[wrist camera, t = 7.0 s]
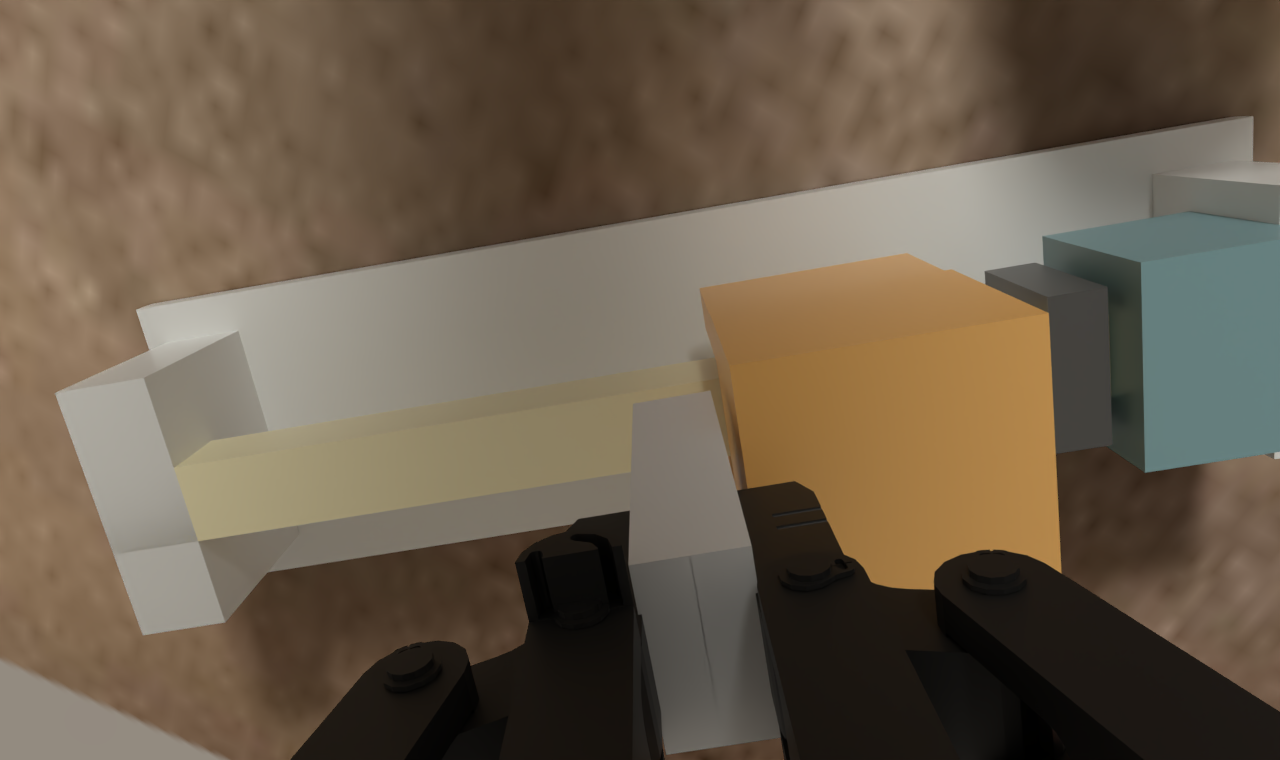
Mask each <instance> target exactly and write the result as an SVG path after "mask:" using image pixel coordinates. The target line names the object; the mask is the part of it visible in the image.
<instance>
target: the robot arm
mask: <svg viewBox="0 0 1280 760" xmlns="http://www.w3.org/2000/svg"><path fill="white" fill-rule="evenodd" d="M515 564H516V568H517V573H518V577H519V581H520V585H521V589H522V594H523V598H524V602H525V606H526V611H527V615H528V619H529V625H528V630H527V634H526V639H525V643H524V644H523V645H521V646H519V647H517V648H516V649H514V650H512V651H510V652H508V653H505V654H503V655H500V656H498V657H495V658H493V659H490V660H487V661H484V662H481V663H478V664H475V665H472V666H470V662H469V658H468V655H467V653H466V650H465V649H464V648H463V647H461V646H459V645H458V644H456V643H453V642H444V641H432V642H425V643H423V642H419V643H415V644H411V645H410V646H409V647H407V646H405V647H402V648H400V649H397V650H395V651H394V652H393V653H392V654H390V655H388V656H386V657H384V658H383V659H381V660H379V661H378V662H376V663H375V664H374V665H373V666H372V667H371V668H370V669H368V670H367V671H366V672H365V673H364V674H363V675H362V676H361V678H360V679H359V680H358V681H357V682H356V683H355V685H354V686H353V687H352V688H351V689H350V690H349V692H348V693H347V694H346V695H345V696H344V697H343V699H342V700H341V701H340V702H339V703H338V704H337V706H336V707H335V708H334V709H333V710H332V712H331V713H330V714H329V715H328V716H327V717H326V719H325V720H324V721H323V722H322V723H321V724H320V726H319V727H318V728H317V729H316V730H315V731H314V733H313V734H312V735H311V736H310V737H309V738H308V740H307V741H306V742H305V743H304V744H303V745H302V747H301V748H300V749H299V750H298V751H297V753H296V754H295V755H294V756H293V757H292V758H291V760H665V758H664V753H663V748H662V736H663V741H664V746H665V751H666V755H669V754H675V753H682V752H689V751H695V750H702V749H709V748H715V747H722V746H729V745H735V744H742V743H749V742H755V741H762V740H769V739H775V738H781V741H782V748H783V754H784V760H1280V712H1279V711H1278V710H1276V709H1275V708H1273V707H1271V706H1270V705H1268V704H1267V703H1265V702H1263V701H1262V700H1260V699H1259V698H1257V697H1256V696H1254V695H1252V694H1251V693H1249V692H1248V691H1246V690H1245V689H1243V688H1241V687H1240V686H1238V685H1237V684H1235V683H1233V682H1232V681H1230V680H1229V679H1227V678H1226V677H1224V676H1222V675H1221V674H1219V673H1218V672H1216V671H1215V670H1213V669H1211V668H1210V667H1208V666H1207V665H1205V664H1203V663H1202V662H1200V661H1199V660H1197V659H1196V658H1194V657H1192V656H1191V655H1189V654H1188V653H1186V652H1185V651H1183V650H1181V649H1180V648H1178V647H1177V646H1175V645H1173V644H1172V643H1170V642H1169V641H1167V640H1166V639H1164V638H1162V637H1161V636H1159V635H1158V634H1156V633H1155V632H1153V631H1151V630H1150V629H1148V628H1147V627H1145V626H1143V625H1142V624H1140V623H1139V622H1137V621H1136V620H1134V619H1132V618H1131V617H1129V616H1128V615H1126V614H1125V613H1123V612H1121V611H1120V610H1118V609H1117V608H1115V607H1113V606H1112V605H1110V604H1109V603H1107V602H1106V601H1104V600H1102V599H1101V598H1099V597H1098V596H1096V595H1095V594H1093V593H1091V592H1090V591H1088V590H1087V589H1085V588H1083V587H1082V586H1080V585H1079V584H1077V583H1076V582H1074V581H1072V580H1071V579H1069V578H1068V577H1066V576H1065V575H1063V574H1061V573H1060V572H1058V571H1057V570H1055V569H1053V568H1052V567H1050V566H1049V565H1047V564H1046V563H1044V562H1041V561H1039V560H1037V559H1035V558H1032V557H1030V556H1028V555H1023V554H1018V553H1013V552H1008V551H1006V550H993V551H990V550H979V551H976V552H973V553H967V554H961V555H959V556H957V557H954V558H952V559H950V560H947V561H945V562H944V563H943V564H942V565H941V566H940V567H939V568H938V569H937V570H936V571H935V574H934V590H929V589H903V588H892V587H887V586H883V585H878V584H875V583H873V582H871V581H870V579H869V577H868V575H867V573H866V571H865V569H864V568H863V567H862V566H861V565H860V563H859V562H858V561H857V560H856V559H854V558H851V557H849V556H846V555H844V554H843V552H842V550H841V547H840V545H839V543H838V541H837V539H836V537H835V535H834V533H833V531H832V529H831V526H830V524H829V522H828V521H827V518H826V516H825V514H824V512H823V510H822V509H821V505H820V503H819V501H818V499H817V497H816V495H815V493H814V491H812V490H810V489H808V488H806V487H805V486H803V485H801V484H799V483H798V482H796V481H792V482H786V483H780V484H774V485H767V486H761V487H755V488H749V489H743V490H737V489H736V485H735V481H734V478H733V474H732V470H731V466H730V463H729V459H728V455H727V451H726V448H725V444H724V440H723V436H722V432H721V429H720V425H719V421H718V417H717V414H716V410H715V406H714V402H713V399H712V395H711V391H705V392H699V393H693V394H687V395H681V396H675V397H669V398H664V399H658V400H652V401H646V402H640V403H634V404H633V419H632V454H631V490H630V511H624V512H618V513H611V514H605V515H599V516H593V517H587V518H581V519H578V520H577V521H576V522H575V523H574V524H573V525H572V526H571V527H570V528H569V529H568V530H567V531H566V532H564V533H560V534H556V535H552V536H550V537H548V538H545V539H543V540H541V541H539V542H536V543H534V544H533V545H532V546H530V547H529V548H527V549H526V550H525V551H523V552H522V553H521V555H520V556H519V558H518V559H517V561H516V562H515Z"/></svg>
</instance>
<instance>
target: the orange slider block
mask: <svg viewBox="0 0 1280 760" xmlns="http://www.w3.org/2000/svg"><path fill="white" fill-rule="evenodd" d="M699 289H700V295H701V302H702V308H703V315H704V321H705V328H706V331H707V334H708V337H709V340H710V343H711V346H712V349H713V352H714V356H715V359H716V362H717V369H718V375H719V382H720V388H721V395H722V402H723V408H724V415H725V421H726V428H727V434H728V441H729V447H730V454H731V456H728V459H729V463H730V466H731V470H732V474H733V478H734V481H735V485H736V489H737V490H743V489H749V488H755V487H761V486H767V485H774V484H780V483H786V482H792V481H796V482H798V483H799V484H801V485H803V486H805V487H806V488H808V489H810V490H812V491H814V493H815V495H816V497H817V499H818V501H819V503H820V505H821V509H822V510H823V512H824V514H825V516H826V518H827V521H828V522H829V524H830V526H831V529H832V531H833V533H834V535H835V537H836V539H837V541H838V543H839V545H840V547H841V550H842V552H843V554H844V555H846V556H849V557H851V558H854V559H856V560H857V561H858V562H859V563H860V565H861V566H862V567H863V568H864V569H865V571H866V573H867V575H868V577H869V579H870V581H871V582H873V583H875V584H878V585H883V586H887V587H892V588H903V589H929V590H934V574H935V571H936V570H937V569H938V568H939V567H940V566H941V565H942V564H943V563H944V562H945V561H947V560H950V559H952V558H954V557H957V556H959V555H961V554H967V553H973V552H976V551H979V550H990V551H993V550H1006V551H1008V552H1013V553H1018V554H1023V555H1028V556H1030V557H1032V558H1035V559H1037V560H1039V561H1041V562H1044V563H1046V564H1047V565H1049V566H1050V567H1052V568H1053V569H1055V570H1057V571H1058V572H1060V573H1061V552H1060V532H1059V511H1058V490H1057V470H1056V449H1055V429H1054V408H1053V388H1052V367H1051V347H1050V326H1049V313H1047V312H1045V311H1043V310H1041V309H1039V308H1036V307H1034V306H1032V305H1030V304H1028V303H1025V302H1023V301H1021V300H1019V299H1016V298H1014V297H1012V296H1010V295H1008V294H1005V293H1003V292H1001V291H999V290H997V289H994V288H992V287H990V286H988V285H985V284H983V283H981V282H979V281H977V280H974V279H972V278H970V277H968V276H966V275H963V274H961V273H959V272H957V271H954V270H952V269H950V270H942V269H940V268H938V267H936V266H934V265H932V264H929V263H927V262H925V261H923V260H921V259H919V258H917V257H914V256H912V255H910V254H908V253H904V254H898V255H892V256H887V257H881V258H875V259H869V260H863V261H857V262H851V263H845V264H839V265H833V266H827V267H822V268H816V269H810V270H804V271H798V272H792V273H786V274H780V275H774V276H768V277H762V278H756V279H751V280H745V281H739V282H733V283H727V284H721V285H715V286H709V287H703V288H699ZM1061 574H1062V573H1061Z"/></svg>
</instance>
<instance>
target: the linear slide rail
mask: <svg viewBox="0 0 1280 760" xmlns="http://www.w3.org/2000/svg"><path fill="white" fill-rule="evenodd" d="M904 253H908V254H910V255H912V256H914V257H917V258H919V259H921V260H923V261H925V262H927V263H929V264H932V265H934V266H936V267H938V268H940V269H942V270H950V269H952V270H954V271H957V272H959V273H961V274H963V275H966V276H968V277H970V278H972V279H974V280H977V281H979V282H981V283H983V284H985V285H988V286H990V287H992V288H994V289H997V290H999V291H1001V292H1003V293H1005V294H1008V295H1010V296H1012V297H1014V298H1016V299H1019V300H1021V301H1023V302H1025V303H1028V304H1030V305H1032V306H1034V307H1036V308H1039V309H1041V310H1043V311H1045V312H1047V313H1049V326H1050V347H1051V367H1052V388H1053V408H1054V429H1055V449H1056V454H1059V453H1065V452H1071V451H1078V450H1084V449H1090V448H1097V447H1103V446H1107V447H1108V448H1110V449H1111V450H1113V451H1114V452H1115V453H1117V454H1118V455H1120V456H1121V457H1123V458H1124V459H1126V460H1127V461H1129V462H1130V463H1132V464H1133V465H1135V466H1136V467H1137V468H1139V469H1140V470H1142V471H1143V472H1145V473H1147V472H1153V471H1160V470H1166V469H1172V468H1179V467H1185V466H1192V465H1198V464H1204V463H1211V462H1217V461H1224V460H1230V459H1237V458H1243V457H1249V456H1256V455H1262V454H1265V455H1267V456H1269V457H1271V458H1273V459H1280V163H1273V162H1254V161H1253V116H1235V117H1227V118H1222V119H1216V120H1210V121H1204V122H1199V123H1193V124H1187V125H1181V126H1176V127H1170V128H1164V129H1158V130H1153V131H1147V132H1141V133H1135V134H1129V135H1124V136H1118V137H1112V138H1106V139H1101V140H1095V141H1089V142H1083V143H1078V144H1072V145H1066V146H1060V147H1054V148H1049V149H1043V150H1037V151H1031V152H1026V153H1020V154H1014V155H1008V156H1003V157H997V158H991V159H985V160H979V161H974V162H968V163H962V164H956V165H951V166H945V167H939V168H933V169H928V170H922V171H916V172H910V173H904V174H899V175H893V176H887V177H881V178H876V179H870V180H864V181H858V182H853V183H847V184H841V185H835V186H829V187H824V188H818V189H812V190H806V191H801V192H795V193H789V194H783V195H778V196H772V197H766V198H760V199H754V200H749V201H743V202H737V203H731V204H726V205H720V206H714V207H708V208H703V209H697V210H691V211H685V212H679V213H674V214H668V215H662V216H656V217H651V218H645V219H639V220H633V221H628V222H622V223H616V224H610V225H605V226H599V227H593V228H587V229H581V230H576V231H570V232H564V233H558V234H553V235H547V236H541V237H535V238H530V239H524V240H518V241H512V242H506V243H501V244H495V245H489V246H483V247H478V248H472V249H466V250H460V251H455V252H449V253H443V254H437V255H431V256H426V257H420V258H414V259H408V260H403V261H397V262H391V263H385V264H380V265H374V266H368V267H362V268H356V269H351V270H345V271H339V272H333V273H328V274H322V275H316V276H310V277H305V278H299V279H293V280H287V281H281V282H276V283H270V284H264V285H258V286H253V287H247V288H241V289H235V290H230V291H224V292H218V293H212V294H206V295H201V296H195V297H189V298H183V299H178V300H172V301H166V302H160V303H155V304H150V305H148V306H145V307H142V308H139V309H137V310H136V311H137V314H138V317H139V320H140V323H141V326H142V329H143V332H144V335H145V338H146V341H147V344H148V347H149V351H147V352H145V353H143V354H140V355H138V356H136V357H134V358H131V359H129V360H127V361H125V362H123V363H120V364H118V365H116V366H114V367H111V368H109V369H107V370H105V371H103V372H100V373H98V374H96V375H94V376H92V377H89V378H87V379H85V380H83V381H80V382H78V383H76V384H74V385H72V386H69V387H67V388H65V389H63V390H60V391H58V392H56V393H55V395H56V397H57V400H58V403H59V406H60V408H61V411H62V414H63V417H64V419H65V422H66V425H67V428H68V430H69V433H70V436H71V439H72V441H73V444H74V447H75V450H76V452H77V455H78V458H79V461H80V463H81V466H82V469H83V472H84V474H85V477H86V480H87V483H88V485H89V488H90V491H91V494H92V496H93V499H94V502H95V505H96V507H97V510H98V513H99V516H100V518H101V521H102V524H103V527H104V529H105V532H106V535H107V538H108V541H109V543H110V546H111V549H112V552H113V554H114V557H115V560H116V563H117V565H118V568H119V571H120V574H121V576H122V579H123V582H124V585H125V587H126V590H127V593H128V596H129V598H130V601H131V604H132V607H133V609H134V612H135V615H136V618H137V620H138V623H139V626H140V629H141V631H142V634H143V635H148V634H154V633H161V632H167V631H174V630H180V629H186V628H193V627H199V626H206V625H212V624H219V623H225V622H226V621H227V620H228V619H229V617H230V616H231V615H232V614H233V613H234V612H235V610H236V609H237V608H238V607H239V606H240V604H241V603H242V602H243V601H244V600H245V598H246V597H247V596H248V595H249V594H250V593H251V591H252V590H253V589H254V588H255V587H256V585H257V584H258V583H259V582H260V581H261V579H262V578H263V577H264V576H265V575H266V573H267V572H273V571H280V570H286V569H292V568H299V567H305V566H311V565H318V564H324V563H330V562H337V561H343V560H349V559H356V558H362V557H368V556H375V555H381V554H387V553H394V552H400V551H406V550H413V549H419V548H425V547H432V546H438V545H444V544H451V543H457V542H463V541H470V540H476V539H482V538H489V537H495V536H501V535H508V534H514V533H520V532H527V531H533V530H539V529H546V528H552V527H558V526H565V525H571V524H574V523H575V522H576V521H577V520H578V519H581V518H587V517H593V516H599V515H605V514H611V513H618V512H624V511H630V490H631V454H632V419H633V404H634V403H640V402H646V401H652V400H658V399H664V398H669V397H675V396H681V395H687V394H693V393H699V392H705V391H711V395H712V399H713V402H714V406H715V410H716V414H717V417H718V421H719V425H720V429H721V432H722V436H723V440H724V444H725V448H726V451H727V455H728V456H731V454H730V447H729V441H728V434H727V428H726V421H725V415H724V408H723V402H722V395H721V388H720V382H719V375H718V369H717V362H716V359H715V356H714V352H713V349H712V346H711V343H710V340H709V337H708V334H707V331H706V328H705V321H704V315H703V308H702V302H701V295H700V289H699V288H703V287H709V286H715V285H721V284H727V283H733V282H739V281H745V280H751V279H756V278H762V277H768V276H774V275H780V274H786V273H792V272H798V271H804V270H810V269H816V268H822V267H827V266H833V265H839V264H845V263H851V262H857V261H863V260H869V259H875V258H881V257H887V256H892V255H898V254H904Z"/></svg>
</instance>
